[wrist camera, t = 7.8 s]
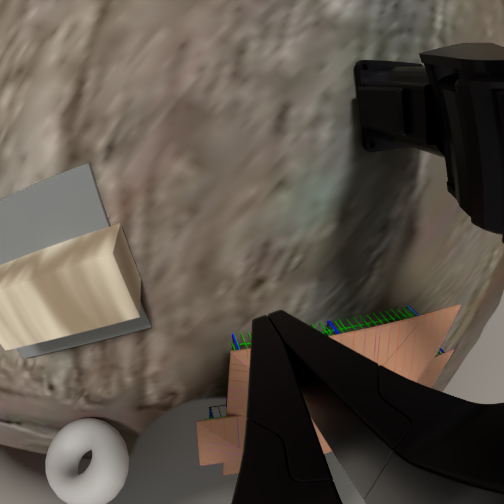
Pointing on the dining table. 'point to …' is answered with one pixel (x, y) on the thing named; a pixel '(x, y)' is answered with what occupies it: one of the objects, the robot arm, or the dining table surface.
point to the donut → (100, 469)
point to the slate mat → (58, 238)
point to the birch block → (68, 289)
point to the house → (362, 341)
